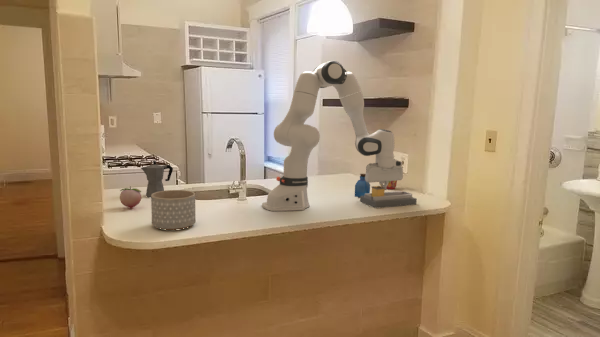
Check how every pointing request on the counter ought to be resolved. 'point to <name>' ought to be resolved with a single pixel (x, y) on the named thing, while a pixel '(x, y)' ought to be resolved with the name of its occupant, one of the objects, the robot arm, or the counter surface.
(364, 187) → the perfume bottle
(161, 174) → the coffeepot
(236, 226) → the counter surface
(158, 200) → the planter
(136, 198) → the decorative fruit
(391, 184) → the smoothie
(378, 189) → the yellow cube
